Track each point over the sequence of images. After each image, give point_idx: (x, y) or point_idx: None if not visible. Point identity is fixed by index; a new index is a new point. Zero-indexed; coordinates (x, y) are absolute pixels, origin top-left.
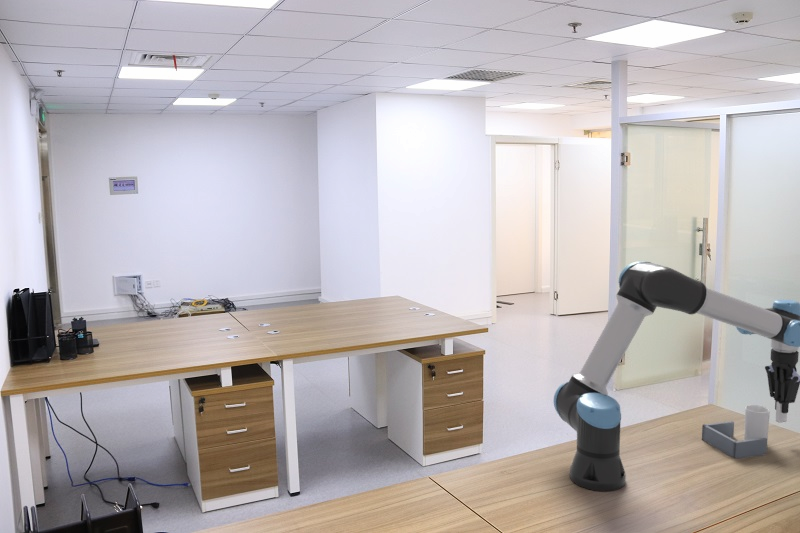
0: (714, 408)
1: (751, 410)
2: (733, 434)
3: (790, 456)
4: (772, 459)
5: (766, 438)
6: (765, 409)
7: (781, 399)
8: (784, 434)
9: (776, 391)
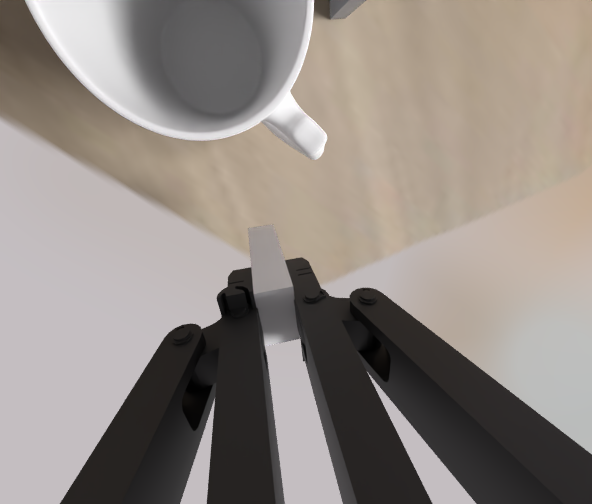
0: (574, 161)
1: (291, 26)
2: (333, 14)
3: (82, 151)
4: (18, 21)
5: None
6: (217, 128)
7: (247, 321)
8: (306, 258)
9: (327, 352)
